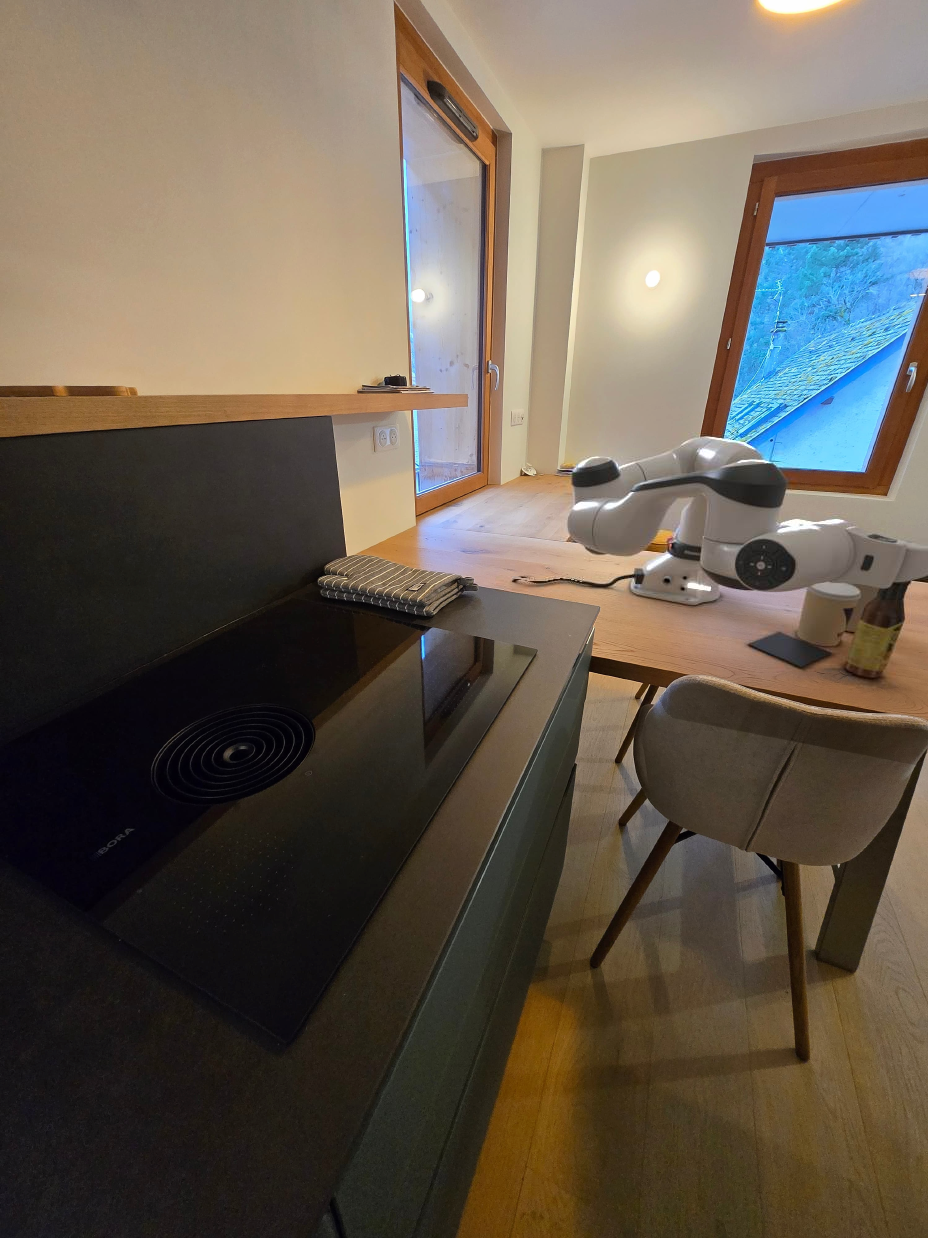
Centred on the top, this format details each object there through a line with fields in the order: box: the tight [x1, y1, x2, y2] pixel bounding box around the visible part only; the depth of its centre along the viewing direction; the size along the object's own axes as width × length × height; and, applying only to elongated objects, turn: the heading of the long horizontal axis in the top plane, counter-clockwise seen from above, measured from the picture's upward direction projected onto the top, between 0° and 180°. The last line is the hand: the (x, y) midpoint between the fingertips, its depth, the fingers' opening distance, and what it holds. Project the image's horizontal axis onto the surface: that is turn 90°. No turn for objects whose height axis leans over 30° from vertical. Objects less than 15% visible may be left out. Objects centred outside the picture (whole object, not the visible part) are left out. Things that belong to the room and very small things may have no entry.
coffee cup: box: [797, 582, 861, 647], centre depth 105 cm, size 9×9×12 cm
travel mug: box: [844, 583, 879, 633], centre depth 109 cm, size 8×8×18 cm
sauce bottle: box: [844, 581, 912, 679], centre depth 91 cm, size 7×6×20 cm
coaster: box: [747, 631, 833, 669], centre depth 103 cm, size 11×11×1 cm
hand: (874, 539), depth 78 cm, fingers open, 8 cm apart
